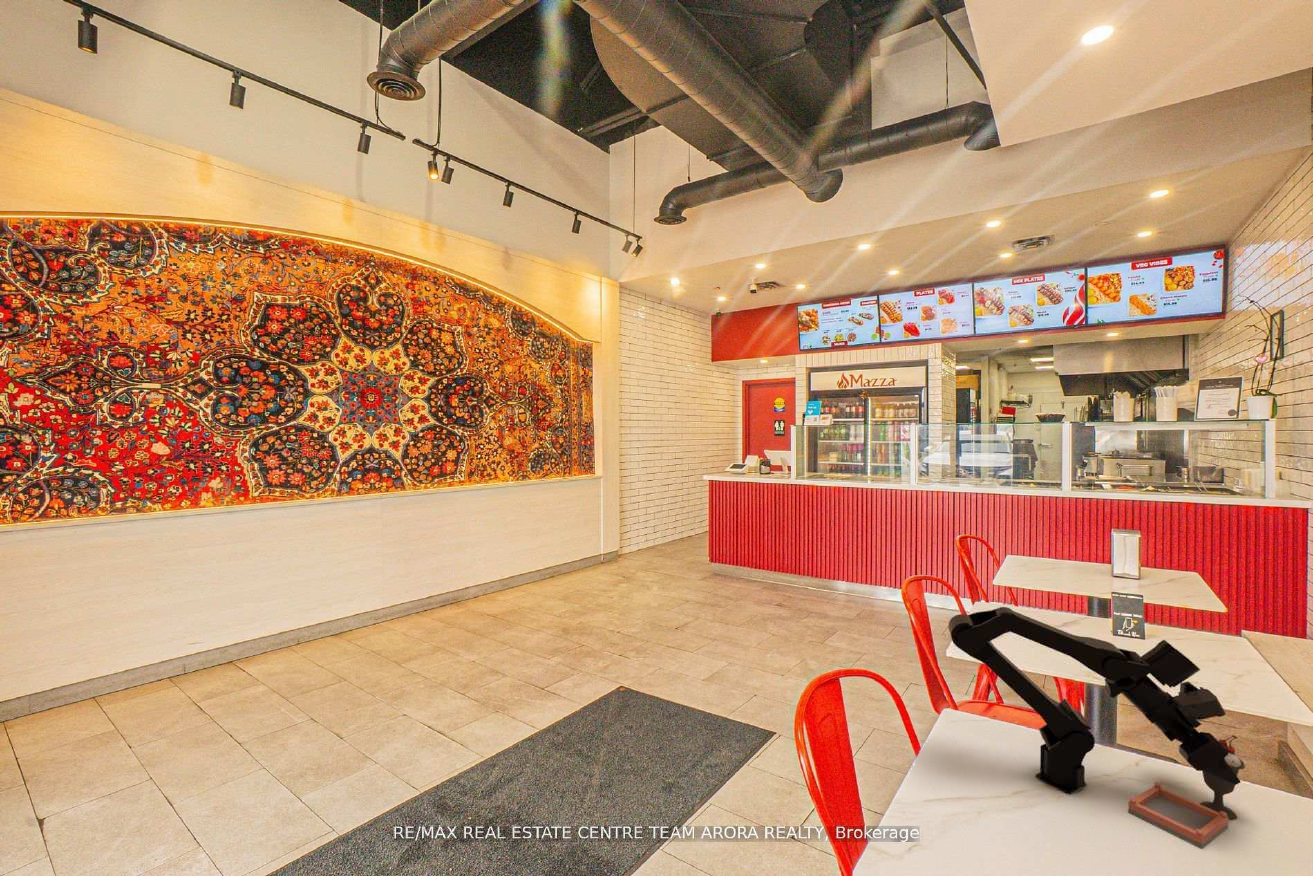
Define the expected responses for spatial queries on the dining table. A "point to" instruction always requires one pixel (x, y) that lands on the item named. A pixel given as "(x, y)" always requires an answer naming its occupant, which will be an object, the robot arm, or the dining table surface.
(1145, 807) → the baseplate
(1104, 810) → the dining table surface
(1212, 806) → the sundae
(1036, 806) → the dining table surface
